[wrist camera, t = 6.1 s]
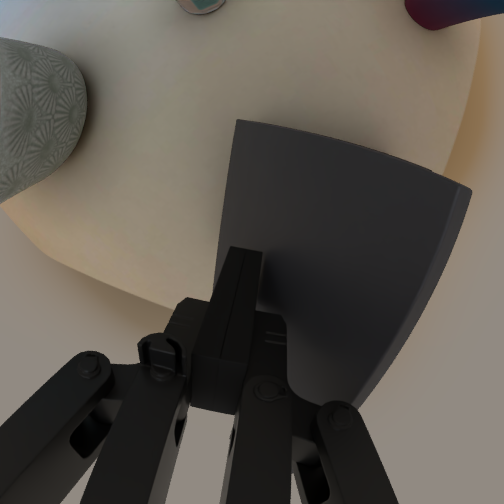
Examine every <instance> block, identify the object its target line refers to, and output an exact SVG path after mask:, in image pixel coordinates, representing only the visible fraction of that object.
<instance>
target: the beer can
mask: <svg viewBox="0 0 504 504" xmlns="http://www.w3.org/2000/svg"><path fill="white" fill-rule="evenodd" d="M176 1H177V2H178V3H179V4H180V6H181V7H182V8H183V9H184V10H185V11H187V12H189V13H192V14H205V13H209V12H211V11H213V10H215V9H217V8H218V7H220V6H221V5H222V4H223V3H224V1H225V0H176Z"/></svg>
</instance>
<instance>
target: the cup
mask: <svg viewBox="0 0 504 504" xmlns="http://www.w3.org/2000/svg"><path fill="white" fill-rule="evenodd" d="M405 6H406V9H407V11H408V13H409V14H410V16H411V17H412V18H413V19H414V20H415V21H416V22H417V23H418V24H419V25H421V26H422V27H424V28H426V29H429V30H439V29H442V28H445V27H448V26H452V25H455V24H458V23H462V22H466V21H470V20H474V19H478V18H482V17H486V16H491V15H496V14H502V13H504V0H405Z"/></svg>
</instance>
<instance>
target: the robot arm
mask: <svg viewBox="0 0 504 504" xmlns="http://www.w3.org/2000/svg"><path fill="white" fill-rule="evenodd" d="M262 254H263V252H261V251H255V250H250V249H245V248H239V247H234V246H230V248H229V250H228V253H227V256H226V258H225V261H224V264H223V266H222V269H221V272H220V275H219V277H218V280H217V283H216V286H215V288H214V291H213V294H212V297H211V299H210V302H207V301H202V300H198V299H193V298H189V297H187V298H185V299H184V300H182V301H181V302H180V303H178V304H177V306H176V308H175V310H174V312H173V315H172V316H171V318H170V320H169V323H168V325H167V326H166V328H165V330H164V333H154V334H150V335H148V336H146V337H144V338H142V339H141V340H140V341H139V343H138V344H137V345H138V352H139V359H140V363H137V364H129V365H126V364H110V361H109V359H108V358H107V357H106V356H105V355H104V354H102V353H99V352H97V351H85V352H81V353H79V354H77V355H76V356H74V357H73V358H72V359H71V360H70V361H69V362H68V363H66V365H64V366H63V367H62V368H61V369H60V370H59V371H58V372H57V373H56V374H54V376H52V377H51V378H50V379H49V380H48V381H47V382H46V383H45V384H44V385H43V386H42V387H41V388H40V389H39V390H37V391H36V392H35V393H34V394H33V395H32V396H31V397H30V398H29V399H28V400H27V401H26V402H25V403H24V404H23V405H22V406H21V407H20V408H19V409H18V410H17V411H16V412H15V413H14V414H12V416H10V418H8V419H7V420H6V421H5V422H4V423H3V424H2V425H1V427H0V504H60V503H61V502H62V501H63V499H64V498H65V497H66V496H67V494H68V493H69V492H70V491H71V489H72V488H73V487H74V486H75V485H76V483H77V482H78V481H79V480H80V478H81V477H82V476H83V475H84V473H85V472H86V471H87V470H88V468H89V467H90V466H91V465H92V463H93V462H94V461H95V460H96V458H97V457H98V459H97V461H96V463H95V466H94V468H93V471H92V473H91V476H90V478H89V481H88V483H87V486H86V489H85V491H84V494H83V496H82V499H81V502H80V504H165V501H166V497H167V493H168V489H169V485H170V481H171V478H172V474H173V470H174V466H175V463H176V459H177V455H178V452H179V448H180V444H181V441H182V437H183V433H184V430H185V426H186V422H187V411H188V408H189V404H190V406H192V407H196V408H201V409H206V410H210V411H215V412H220V413H225V414H231V415H235V418H234V424H233V428H232V431H231V435H230V444H229V451H228V457H227V463H226V469H225V475H224V481H223V487H222V492H221V499H220V504H290V499H291V469H293V473H294V476H295V480H296V484H297V488H298V491H299V495H300V499H301V502H302V504H399V503H398V501H397V498H396V496H395V493H394V491H393V488H392V486H391V484H390V481H389V479H388V476H387V474H386V472H385V469H384V467H383V465H382V462H381V460H380V458H379V455H378V453H377V451H376V448H375V446H374V444H373V441H372V439H371V437H370V435H369V432H368V430H367V428H366V426H365V423H364V421H363V419H362V417H361V415H360V413H359V412H358V410H357V409H356V408H355V407H354V406H352V405H351V404H350V403H347V402H344V401H338V400H332V401H330V402H327V403H325V404H324V405H322V406H320V405H318V404H315V403H312V402H309V401H307V400H305V399H303V398H301V397H299V396H298V395H297V394H295V393H294V392H293V390H292V389H291V388H290V386H289V384H288V379H287V324H286V322H285V321H284V319H283V317H282V315H281V314H275V313H269V312H263V311H258V310H256V303H257V295H258V287H259V279H260V271H261V262H262Z"/></svg>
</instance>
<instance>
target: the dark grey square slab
mask: <svg viewBox="0 0 504 504" xmlns="http://www.w3.org/2000/svg"><path fill="white" fill-rule="evenodd" d="M471 195H472V190H471V189H470V188H468V187H466V186H464V185H462V184H460V183H457V182H455V181H453V180H451V179H448V178H446V177H444V176H442V175H439V174H437V173H434V172H432V171H430V170H427V169H425V168H422V167H419V166H417V165H414V164H412V163H409V162H406V161H403V160H401V159H398V158H395V157H392V156H389V155H386V154H383V153H380V152H377V151H374V150H371V149H368V148H364V147H361V146H358V145H354V144H351V143H347V142H344V141H340V140H336V139H333V138H329V137H325V136H321V135H317V134H313V133H308V132H304V131H300V130H295V129H290V128H285V127H280V126H275V125H270V124H264V123H259V122H253V121H246V120H240V119H237V120H236V126H235V132H234V138H233V144H232V151H231V157H230V163H229V170H228V177H227V184H226V190H225V197H224V205H223V212H222V219H221V227H220V234H219V242H218V250H217V258H216V267H215V275H214V284H213V291H214V288H215V286H216V283H217V280H218V277H219V275H220V272H221V269H222V266H223V264H224V261H225V258H226V256H227V253H228V250H229V248H230V246H234V247H239V248H245V249H250V250H255V251H261V252H263V254H262V262H261V271H260V279H259V287H258V295H257V303H256V310H258V311H263V312H269V313H275V314H281V315H282V317H283V319H284V321H285V322H286V324H287V379H288V384H289V386H290V388H291V389H292V390H293V392H294V393H295V394H297V395H298V396H299V397H301V398H303V399H305V400H307V401H309V402H312V403H315V404H318V405H320V406H322V405H324V404H325V403H327V402H330V401H332V400H338V401H344V402H347V403H350V404H351V405H352V406H354V407H355V408H356V409H357V410H358V409H359V407H360V406H361V405H362V404H363V402H364V401H365V400H366V399H367V397H368V396H369V395H370V393H371V392H372V391H373V389H374V388H375V387H376V385H377V384H378V383H379V381H380V380H381V378H382V377H383V375H384V374H385V373H386V371H387V370H388V368H389V367H390V365H391V364H392V362H393V361H394V359H395V358H396V356H397V355H398V353H399V351H400V350H401V348H402V347H403V345H404V344H405V342H406V340H407V339H408V337H409V335H410V334H411V332H412V330H413V329H414V327H415V325H416V323H417V322H418V320H419V318H420V316H421V314H422V313H423V311H424V309H425V307H426V305H427V303H428V301H429V299H430V297H431V295H432V293H433V291H434V289H435V287H436V285H437V283H438V281H439V279H440V277H441V275H442V273H443V270H444V268H445V266H446V264H447V261H448V259H449V256H450V254H451V252H452V249H453V247H454V244H455V242H456V239H457V237H458V234H459V231H460V228H461V226H462V223H463V220H464V217H465V214H466V211H467V208H468V205H469V202H470V199H471ZM212 294H213V293H212ZM292 473H293V469H291V474H292Z"/></svg>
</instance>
